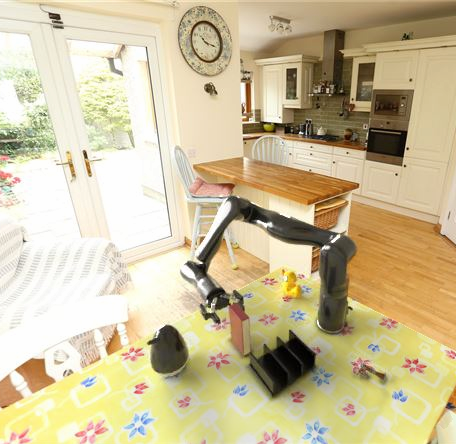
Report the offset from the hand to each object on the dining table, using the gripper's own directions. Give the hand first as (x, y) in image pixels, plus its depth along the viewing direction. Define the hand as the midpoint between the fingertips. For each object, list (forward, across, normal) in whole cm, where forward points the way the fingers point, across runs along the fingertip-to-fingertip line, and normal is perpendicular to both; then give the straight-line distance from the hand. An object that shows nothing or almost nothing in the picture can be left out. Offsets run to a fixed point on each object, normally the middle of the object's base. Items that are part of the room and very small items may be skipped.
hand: (231, 316), depth 92 cm
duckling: (-6, +29, +9) cm, 31 cm away
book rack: (+19, +6, +8) cm, 22 cm away
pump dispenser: (0, -20, +8) cm, 22 cm away
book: (+5, 0, +8) cm, 10 cm away
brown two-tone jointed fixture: (+37, +24, +9) cm, 45 cm away
